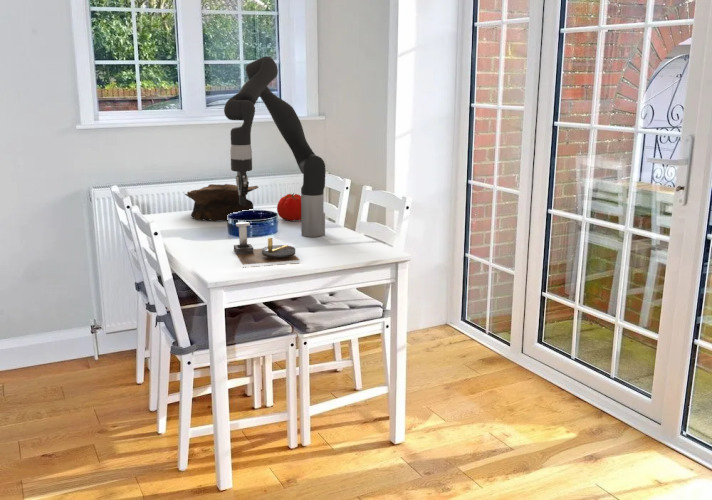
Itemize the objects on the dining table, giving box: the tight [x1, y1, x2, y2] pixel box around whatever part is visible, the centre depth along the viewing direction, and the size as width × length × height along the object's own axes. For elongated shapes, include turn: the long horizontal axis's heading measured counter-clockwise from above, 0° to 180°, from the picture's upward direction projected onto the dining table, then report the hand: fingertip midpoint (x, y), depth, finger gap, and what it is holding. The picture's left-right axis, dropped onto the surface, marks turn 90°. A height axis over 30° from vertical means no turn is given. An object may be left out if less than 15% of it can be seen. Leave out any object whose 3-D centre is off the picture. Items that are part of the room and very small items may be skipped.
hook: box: [235, 221, 251, 248], centre depth 259 cm, size 5×3×11 cm, turn 109°
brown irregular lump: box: [184, 183, 259, 222], centre depth 330 cm, size 34×33×15 cm
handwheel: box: [261, 237, 296, 258], centre depth 254 cm, size 12×12×6 cm
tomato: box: [276, 192, 301, 222], centre depth 321 cm, size 13×14×12 cm
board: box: [233, 243, 300, 268], centre depth 257 cm, size 20×20×3 cm
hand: (242, 205), depth 256 cm, fingers closed
